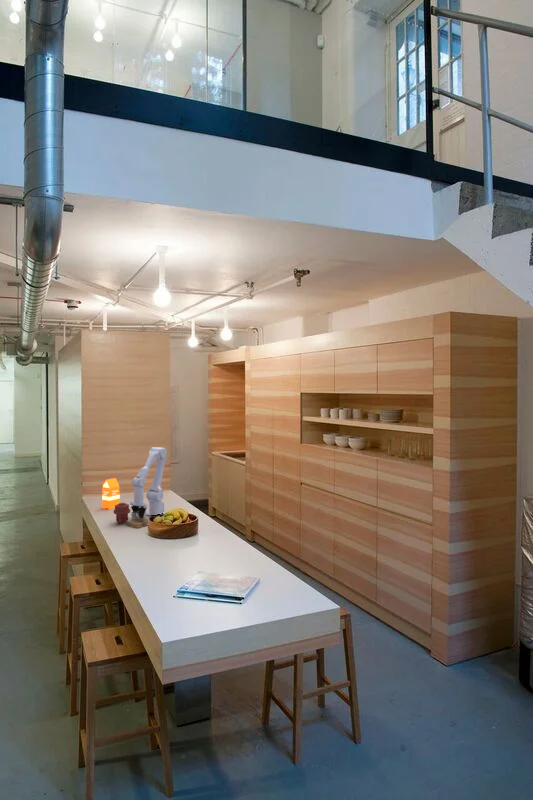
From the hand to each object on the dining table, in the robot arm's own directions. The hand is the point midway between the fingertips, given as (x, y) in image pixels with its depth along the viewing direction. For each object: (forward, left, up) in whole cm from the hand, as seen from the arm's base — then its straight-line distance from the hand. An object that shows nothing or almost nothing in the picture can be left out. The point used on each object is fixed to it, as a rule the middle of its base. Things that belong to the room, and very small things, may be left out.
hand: (138, 517), depth 332 cm
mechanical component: (+11, -2, -2) cm, 11 cm away
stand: (+7, +9, -1) cm, 11 cm away
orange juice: (-9, -42, -2) cm, 42 cm away
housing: (0, 0, -2) cm, 2 cm away
